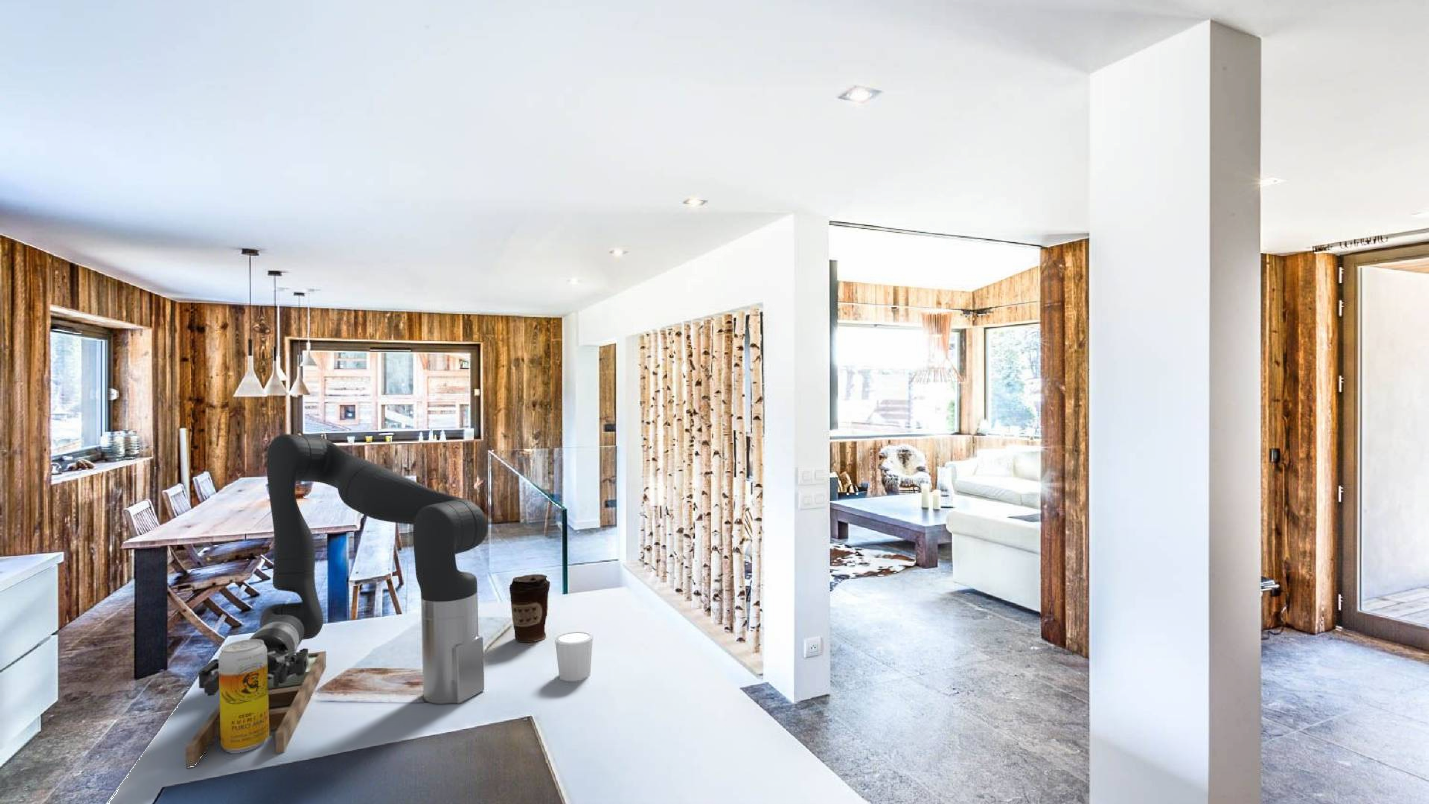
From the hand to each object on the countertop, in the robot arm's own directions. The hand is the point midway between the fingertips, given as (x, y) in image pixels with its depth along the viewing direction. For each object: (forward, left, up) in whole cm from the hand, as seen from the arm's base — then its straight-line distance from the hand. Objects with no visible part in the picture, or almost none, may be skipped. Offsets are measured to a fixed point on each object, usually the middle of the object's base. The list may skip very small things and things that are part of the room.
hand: (243, 684), depth 108 cm
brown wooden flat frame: (+9, -9, -9) cm, 16 cm away
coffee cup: (-9, -54, -9) cm, 56 cm away
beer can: (0, 0, -9) cm, 9 cm away
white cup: (-30, -41, -9) cm, 52 cm away
